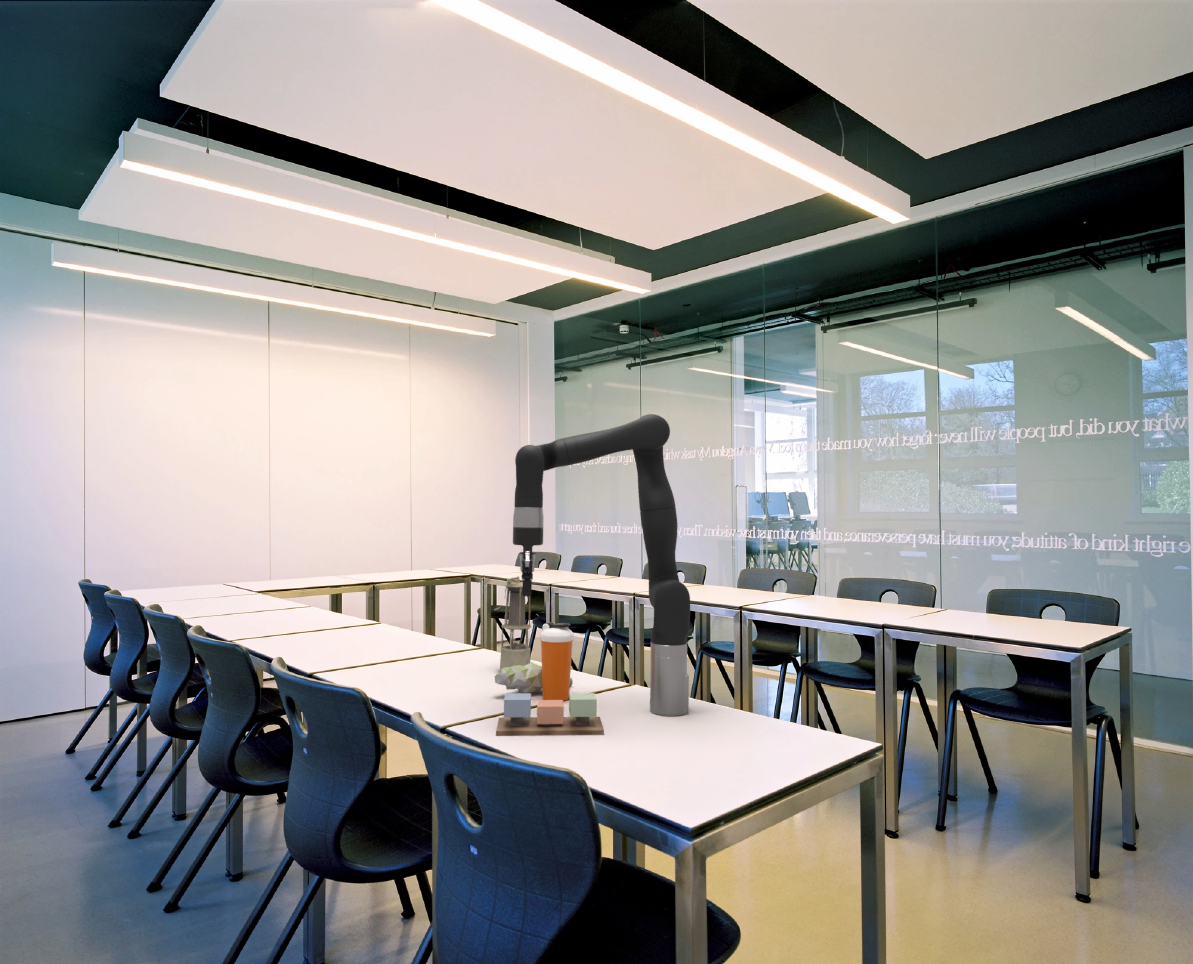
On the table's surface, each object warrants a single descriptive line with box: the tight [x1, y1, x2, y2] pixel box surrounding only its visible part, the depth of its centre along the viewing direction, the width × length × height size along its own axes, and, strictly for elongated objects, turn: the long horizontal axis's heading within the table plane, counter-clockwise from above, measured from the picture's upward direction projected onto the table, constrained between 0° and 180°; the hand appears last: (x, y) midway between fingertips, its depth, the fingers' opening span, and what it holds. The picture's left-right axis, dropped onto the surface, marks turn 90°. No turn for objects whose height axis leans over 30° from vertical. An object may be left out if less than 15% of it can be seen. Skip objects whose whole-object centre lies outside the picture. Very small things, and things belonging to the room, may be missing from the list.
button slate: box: [503, 692, 532, 717], centre depth 168 cm, size 6×6×4 cm
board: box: [495, 716, 605, 737], centre depth 168 cm, size 24×11×3 cm, turn 95°
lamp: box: [493, 576, 532, 674], centre depth 226 cm, size 10×13×30 cm
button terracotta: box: [536, 699, 565, 724], centre depth 168 cm, size 6×6×4 cm
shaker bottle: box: [539, 621, 574, 702], centre depth 196 cm, size 9×9×20 cm
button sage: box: [568, 692, 598, 717], centre depth 169 cm, size 6×6×4 cm
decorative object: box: [494, 661, 573, 695], centre depth 202 cm, size 9×10×25 cm
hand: (526, 595), depth 181 cm, fingers closed
